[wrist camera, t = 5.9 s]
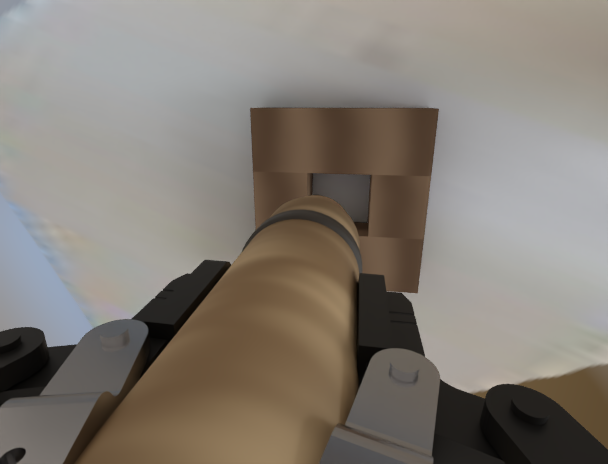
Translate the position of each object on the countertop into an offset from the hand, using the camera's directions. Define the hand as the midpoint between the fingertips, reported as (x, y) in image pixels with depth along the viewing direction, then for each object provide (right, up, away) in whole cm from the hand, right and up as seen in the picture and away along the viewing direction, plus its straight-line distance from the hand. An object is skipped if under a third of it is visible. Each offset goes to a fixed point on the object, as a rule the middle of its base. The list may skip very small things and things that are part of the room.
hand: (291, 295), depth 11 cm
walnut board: (+4, +6, +25) cm, 25 cm away
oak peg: (+1, +2, +6) cm, 6 cm away
